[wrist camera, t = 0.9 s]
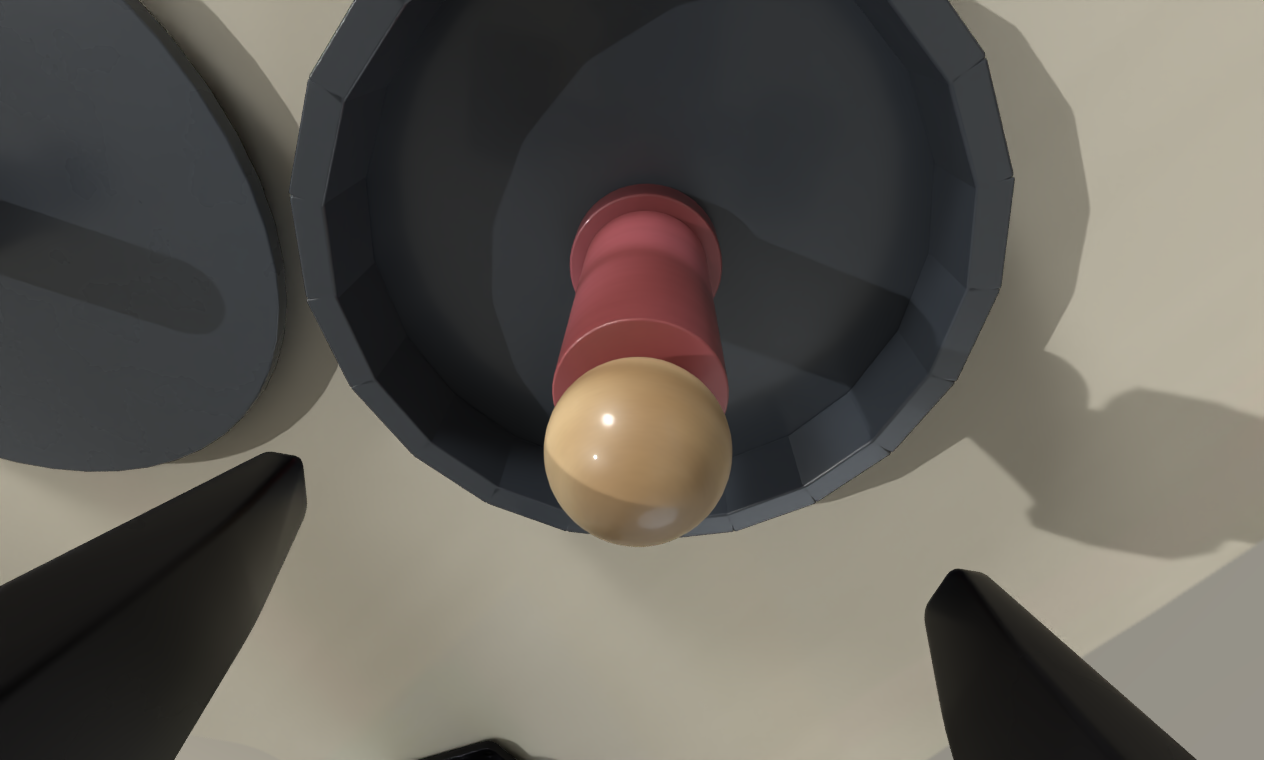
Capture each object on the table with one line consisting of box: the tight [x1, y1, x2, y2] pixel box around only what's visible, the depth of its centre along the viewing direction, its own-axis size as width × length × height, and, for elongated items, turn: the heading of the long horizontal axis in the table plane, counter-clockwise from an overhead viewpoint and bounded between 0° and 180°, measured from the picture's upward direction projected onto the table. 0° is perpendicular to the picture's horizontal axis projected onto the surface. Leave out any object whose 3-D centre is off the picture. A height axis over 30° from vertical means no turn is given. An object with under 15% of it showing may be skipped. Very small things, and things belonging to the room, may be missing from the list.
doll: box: [544, 184, 732, 547], centre depth 13 cm, size 4×4×10 cm
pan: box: [289, 0, 1015, 538], centre depth 16 cm, size 17×17×3 cm
